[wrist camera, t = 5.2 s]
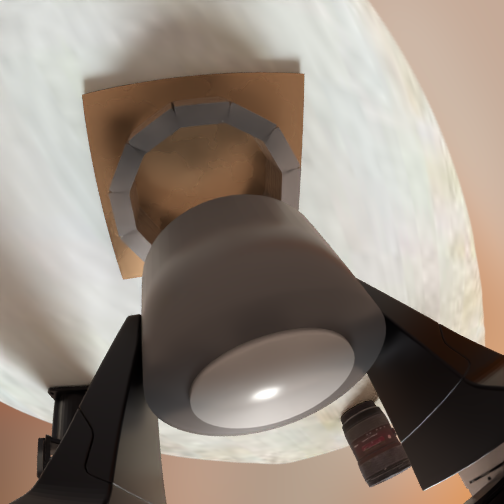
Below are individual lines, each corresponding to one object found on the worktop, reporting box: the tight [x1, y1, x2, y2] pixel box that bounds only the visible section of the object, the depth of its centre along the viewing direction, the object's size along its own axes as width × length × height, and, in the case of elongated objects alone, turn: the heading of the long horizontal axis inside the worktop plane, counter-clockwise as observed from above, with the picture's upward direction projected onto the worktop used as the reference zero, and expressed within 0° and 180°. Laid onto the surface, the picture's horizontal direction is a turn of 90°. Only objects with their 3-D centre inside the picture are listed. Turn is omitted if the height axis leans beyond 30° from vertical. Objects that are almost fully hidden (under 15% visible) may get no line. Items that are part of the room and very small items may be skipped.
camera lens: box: [341, 401, 411, 487], centre depth 41 cm, size 8×8×15 cm
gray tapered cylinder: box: [141, 194, 386, 436], centre depth 8 cm, size 6×6×4 cm
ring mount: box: [82, 72, 304, 279], centre depth 16 cm, size 12×12×3 cm
